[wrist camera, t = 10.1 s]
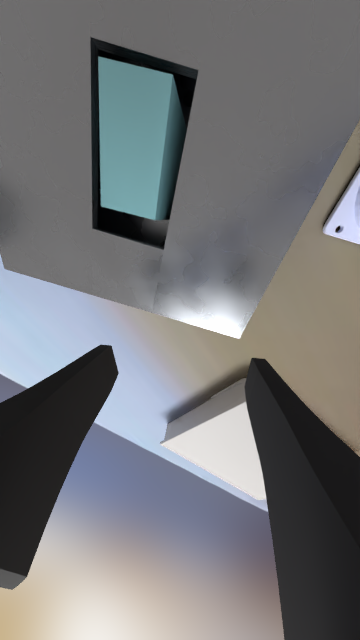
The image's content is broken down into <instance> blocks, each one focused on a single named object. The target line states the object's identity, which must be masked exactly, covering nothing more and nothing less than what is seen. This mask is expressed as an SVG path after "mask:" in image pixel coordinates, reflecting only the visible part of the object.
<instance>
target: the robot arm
mask: <svg viewBox="0 0 360 640" xmlns="http://www.w3.org/2000/svg"><path fill="white" fill-rule="evenodd" d="M338 226H340V230H339V231H338V232H335V229H336V228H337V227H338ZM323 232H324V233H325V234H327V235H330V236H333V237H337V238H340V239H343V240H347V241H350V242H353V243H357V244H360V167H359V169H358V171H357V172H356V174H355V176H354V177H353V179H352V180H351V182H350V184H349V185H348V187H347V189H346V190H345V192H344V194H343V195H342V197H341V198H340V200H339V202H338V203H337V205H336V207H335V208H334V210H333V212H332V213H331V215H330V216H329V218H328V220H327V221H326V223H325V225H324V227H323ZM117 376H118V369H117V365H116V362H115V358H114V354H113V350H112V346H109V345H99V346H98V347H96V348H94V349H93V350H91V351H89V352H88V353H86V354H85V355H83V356H81V357H80V358H78V359H77V360H75V361H74V362H72V363H70V364H69V365H67V366H66V367H64V368H62V369H61V370H59V371H58V372H56V373H54V374H52V375H51V376H49V377H47V378H46V379H44V380H42V381H41V382H39V383H37V384H35V385H34V386H32V387H30V388H28V389H26V390H25V391H23V392H21V393H19V394H17V395H15V396H13V397H12V398H9V399H7V400H5V401H3V402H1V403H0V587H2V588H7V589H14V588H15V587H17V586H18V585H19V584H20V583H21V582H22V581H23V580H24V579H25V578H26V577H27V575H28V572H29V570H30V567H31V564H32V561H33V559H34V556H35V553H36V551H37V548H38V545H39V543H40V540H41V537H42V535H43V532H44V529H45V527H46V524H47V522H48V519H49V517H50V514H51V512H52V509H53V507H54V504H55V502H56V500H57V497H58V495H59V492H60V490H61V488H62V486H63V483H64V481H65V479H66V476H67V474H68V472H69V469H70V467H71V465H72V463H73V461H74V459H75V456H76V454H77V452H78V450H79V448H80V446H81V444H82V442H83V440H84V438H85V436H86V434H87V432H88V431H89V429H90V427H91V426H92V424H93V422H94V420H95V419H96V417H97V415H98V413H99V412H100V410H101V408H102V406H103V405H104V403H105V401H106V399H107V398H108V396H109V394H110V392H111V390H112V388H113V386H114V383H115V381H116V378H117ZM244 388H245V397H246V404H247V410H248V414H249V419H250V423H251V427H252V431H253V435H254V439H255V443H256V447H257V451H258V455H259V460H260V464H261V469H262V474H263V480H264V486H265V492H266V499H267V505H268V512H269V519H270V525H271V532H272V539H273V547H274V554H275V562H276V570H277V578H278V585H279V595H280V603H281V611H282V620H283V629H284V639H285V640H360V457H359V456H358V455H357V454H356V453H355V452H354V451H353V450H351V449H350V448H349V447H348V446H347V445H346V444H345V443H344V442H343V441H342V440H340V439H339V438H338V437H337V436H336V435H335V434H334V433H333V432H332V431H331V430H330V429H329V428H328V427H327V426H326V425H325V424H324V423H323V422H322V421H321V420H320V419H319V418H318V417H317V416H316V415H315V414H314V413H313V412H312V411H311V410H310V409H309V408H308V407H307V406H306V405H305V404H304V403H303V402H302V401H301V400H300V398H299V397H298V396H297V395H296V394H295V393H294V392H293V391H292V390H291V389H290V387H289V386H288V385H287V384H286V383H285V382H284V381H283V379H282V378H281V377H280V376H279V375H278V374H277V372H276V371H275V370H274V369H273V368H272V366H271V365H270V364H269V363H268V362H267V361H266V360H265V359H258V358H252V359H251V363H250V367H249V371H248V375H247V378H246V382H245V386H244Z"/></svg>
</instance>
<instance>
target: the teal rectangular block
mask: <svg viewBox="0 0 360 640" xmlns="http://www.w3.org/2000/svg"><path fill="white" fill-rule="evenodd" d="M98 71H99V126H100V182H101V206H102V207H105V208H109V209H113V210H117V211H121V212H125V213H129V214H133V215H137V216H141V217H144V218H148V219H152V220H170V215H171V210H172V205H173V200H174V194H175V189H176V184H177V179H178V174H179V169H180V164H181V158H182V153H183V148H184V143H185V138H186V133H187V129H186V125H185V121H184V117H183V113H182V109H181V105H180V101H179V97H178V93H177V89H176V85H175V81H174V77H173V75H172V74H168V73H164V72H160V71H156V70H152V69H148V68H144V67H140V66H135V65H131V64H127V63H123V62H119V61H115V60H111V59H107V58H103V57H99V56H98Z"/></svg>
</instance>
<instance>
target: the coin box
mask: <svg viewBox="0 0 360 640" xmlns="http://www.w3.org/2000/svg"><path fill="white" fill-rule="evenodd" d="M98 56H99V57H103V58H107V59H111V60H115V61H119V62H123V63H127V64H131V65H135V66H140V67H144V68H148V69H152V70H156V71H160V72H164V73H168V74H172V75H173V77H174V81H175V85H176V89H177V93H178V97H179V101H180V105H181V109H182V113H183V117H184V121H185V125H186V129H187V133H186V138H185V143H184V148H183V153H182V158H181V164H180V169H179V174H178V179H177V184H176V189H175V194H174V200H173V205H172V210H171V215H170V220H152V219H148V218H144V217H141V216H137V215H133V214H129V213H125V212H121V211H117V210H113V209H109V208H105V207H102V206H101V182H100V126H99V71H98ZM359 120H360V0H0V254H1V257H2V261H3V265H4V268H5V269H7V270H10V271H14V272H17V273H20V274H24V275H27V276H30V277H34V278H37V279H40V280H44V281H47V282H51V283H54V284H57V285H61V286H64V287H67V288H71V289H74V290H77V291H81V292H84V293H88V294H91V295H94V296H98V297H101V298H104V299H108V300H111V301H114V302H118V303H121V304H125V305H128V306H131V307H135V308H138V309H141V310H145V311H148V312H151V313H155V314H158V315H161V316H165V317H168V318H172V319H175V320H178V321H182V322H185V323H188V324H192V325H195V326H198V327H202V328H205V329H209V330H212V331H215V332H219V333H222V334H225V335H229V336H232V337H235V338H240V336H241V334H242V332H243V331H244V329H245V327H246V325H247V323H248V321H249V320H250V318H251V316H252V314H253V312H254V311H255V309H256V307H257V305H258V303H259V301H260V300H261V298H262V296H263V294H264V292H265V291H266V289H267V287H268V285H269V283H270V281H271V280H272V278H273V276H274V274H275V272H276V271H277V269H278V267H279V265H280V263H281V261H282V260H283V258H284V256H285V254H286V252H287V251H288V249H289V247H290V245H291V243H292V241H293V240H294V238H295V236H296V234H297V232H298V231H299V229H300V227H301V225H302V223H303V221H304V220H305V218H306V216H307V214H308V212H309V210H310V209H311V207H312V205H313V203H314V201H315V200H316V198H317V196H318V194H319V192H320V190H321V189H322V187H323V185H324V183H325V181H326V180H327V178H328V176H329V174H330V172H331V170H332V169H333V167H334V165H335V163H336V161H337V160H338V158H339V156H340V154H341V152H342V150H343V149H344V147H345V145H346V143H347V141H348V140H349V138H350V136H351V134H352V132H353V130H354V129H355V127H356V125H357V123H358V121H359Z"/></svg>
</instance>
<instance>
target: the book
mask: <svg viewBox="0 0 360 640" xmlns="http://www.w3.org/2000/svg"><path fill="white" fill-rule="evenodd" d="M245 382H246V378H242V379H241V380H239V381H237V382H235V383H234V384H232V385H230V386H229V387H227V388H225V389H223V390H222V391H220V392H218V393H217V394H215V395H213V396H212V397H210V398H211V399H210V400H208V401H207V402H205V403H203V404H202V405H200V406H198V407H196V408H195V409H193V410H191V411H189V412H188V413H186V414H184V415H182V416H181V417H179V418H177V419H175V420H174V421H172V422H170V423H168V424H167V429H166V434H165V439H164V440H163V441H161V442H160V445H162V446H164V447H166V448H167V449H169V450H171V451H173V452H175V453H176V454H178V455H180V456H182V457H183V458H185V459H187V460H189V461H190V462H192V463H194V464H196V465H197V466H199V467H201V468H203V469H204V470H206V471H208V472H210V473H211V474H213V475H215V476H217V477H218V478H220V479H222V480H224V481H225V482H227V483H229V484H231V485H232V486H234V487H236V488H238V489H240V490H241V491H243V492H245V493H247V494H248V495H250V496H252V497H254V498H255V499H257V500H262V499H266V492H265V486H264V480H263V474H262V469H261V464H260V460H259V455H258V451H257V447H256V443H255V439H254V435H253V431H252V427H251V423H250V419H249V414H248V410H247V404H246V397H245V388H244V386H245Z"/></svg>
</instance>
